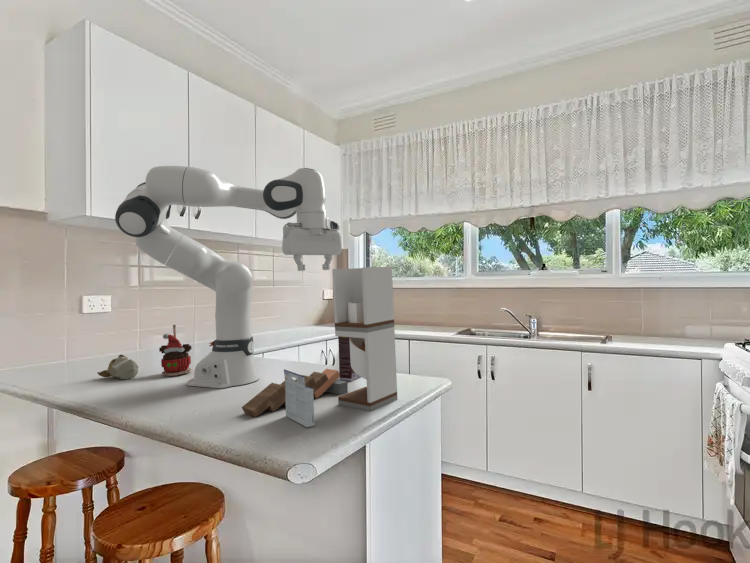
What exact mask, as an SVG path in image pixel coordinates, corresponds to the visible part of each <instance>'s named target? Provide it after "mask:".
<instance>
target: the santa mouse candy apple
mask: <svg viewBox="0 0 750 563" xmlns="http://www.w3.org/2000/svg"><path fill="white" fill-rule="evenodd" d="M176 328H177V327H176V324H173V325H172V331H173V332H172V333H173V335H172V334H170V333H163V335H162V338H163V339H164V340H168V343H167V344H165V345H164V344H163V345H161V346H160V347H159V349H158V350H159V352H161V354H163V355H162V358H161V360H160V362H161V364H160V366H161V368H163V371H162V372H161V374H162V375H163V376H169V377H175V376H176V377H177V376H182V375H185V374H187V373H190V372H192V368H190V365H191V363H192V358H191V355H189V352H191V350H192V349H193V348H192V345H190V343H185V344H184V343H183V344H182V343H181V341H180V340H179V339H178V338H177V330H176Z"/></svg>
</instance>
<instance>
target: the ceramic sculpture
mask: <svg viewBox="0 0 750 563" xmlns="http://www.w3.org/2000/svg"><path fill="white" fill-rule="evenodd" d="M138 372H139V365H138V363H137V362H136V361H135V360H133V359H131V358H130V359H129V358H128V356H127V355H123V354H119V355H118V357H117V358H113V359H112V360H111V361H110V362H109V364H108V367H107V369H104V370H103V371H97V372H96V373H97V375H98V376H100V377H102V378H110V377H112V378H114V377H116V378H115V379H121V380H122V379H128V380H130V379H129V378H131V379H133V378H135V377H136V376H137V375H138Z"/></svg>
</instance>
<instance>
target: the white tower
mask: <svg viewBox="0 0 750 563" xmlns="http://www.w3.org/2000/svg"><path fill="white" fill-rule="evenodd" d="M331 270H332V271H331V272H332V290H333V313H334V314H333V316H334V336H335V337H338V336H341V337H349V341H350V363H351V368H352V369H353V371H354V372H355V373H356V374H358V375H359V376H361V377H360V378H362V379H365V380H366V386H363V387H361V388H359V389H356V390H352V391H350V392H347V393H344V394H341V395H339V396H338V397H337V403H338V405H339V406H344V407H347V408H348V407H349V408H353V409H358V410H363V411H368V412H372V411H374V410H376V409H379V408H381V407H383V406H385V405H387V404H390V403H392V402H395V401H397V400H398V381H397V380H398V379H397V361H396V360H397V355H396V337H395V336H396V334H395V330H396V329H395V312H394V310H395V309H394V308H395V306H394V289H393V288H394V286H393V282H394V281H393V267H392V266H378V267H377V266H371V267H369V266H366V267H364V266H363V267H359V268H355V267H354V268H332V269H331Z"/></svg>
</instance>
